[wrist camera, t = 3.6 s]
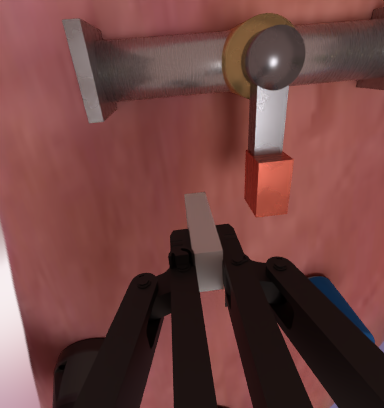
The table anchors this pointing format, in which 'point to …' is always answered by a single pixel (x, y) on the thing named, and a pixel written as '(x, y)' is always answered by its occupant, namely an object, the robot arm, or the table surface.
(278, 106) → the lever
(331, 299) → the beverage can
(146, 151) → the table surface
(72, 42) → the valve body
